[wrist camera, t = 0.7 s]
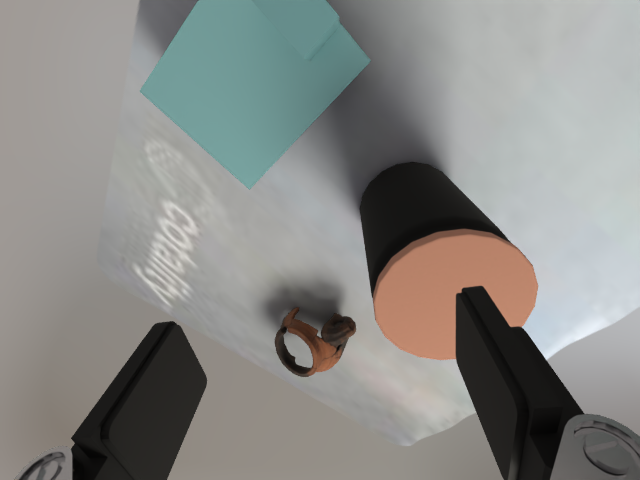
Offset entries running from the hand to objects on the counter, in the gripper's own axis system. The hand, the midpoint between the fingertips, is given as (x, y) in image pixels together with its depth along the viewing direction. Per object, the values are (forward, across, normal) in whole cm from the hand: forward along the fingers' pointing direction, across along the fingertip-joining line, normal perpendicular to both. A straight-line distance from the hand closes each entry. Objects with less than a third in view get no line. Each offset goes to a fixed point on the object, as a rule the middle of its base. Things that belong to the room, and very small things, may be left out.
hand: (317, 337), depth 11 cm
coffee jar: (+28, -7, +7) cm, 29 cm away
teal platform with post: (+22, +5, -9) cm, 24 cm away
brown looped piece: (+28, +6, +24) cm, 37 cm away
